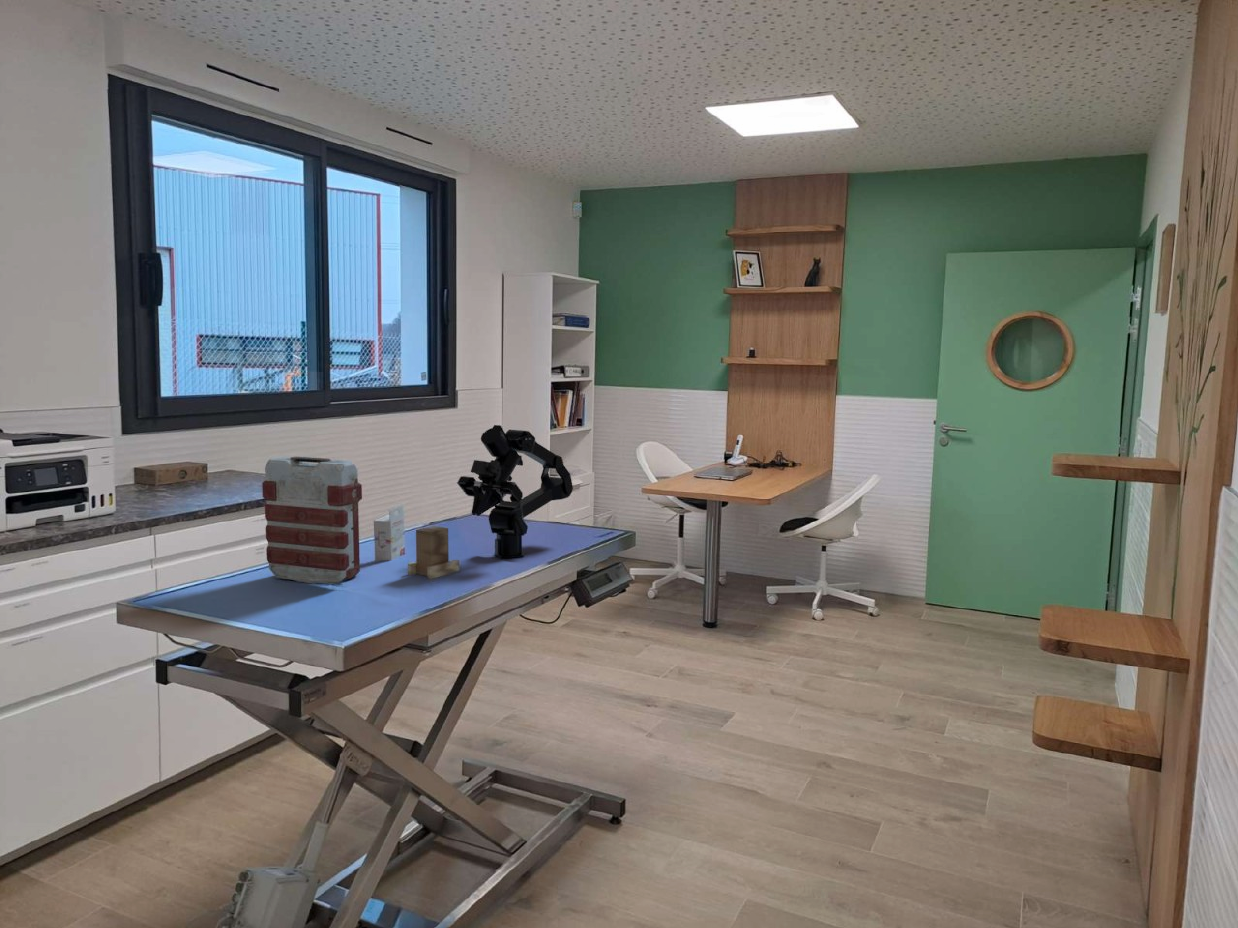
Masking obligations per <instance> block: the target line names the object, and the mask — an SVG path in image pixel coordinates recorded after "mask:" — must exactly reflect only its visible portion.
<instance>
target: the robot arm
mask: <svg viewBox="0 0 1238 928" xmlns="http://www.w3.org/2000/svg"><path fill="white" fill-rule="evenodd" d="M480 441H481V443H482V444H483V446H484V447H485V448H486V450H487V452H489V454H490V455H491V456H492V457H494V458H495V459H494V460H492V459H491V460H490V461H486V460H485V461H484V460H478V459H474V460H473V463H472V466H471V469H470V473H472V474H475V475H478V477H477V478H478V479H479V481H478V480H476V479H475V477H473V476H465V475H464V476H460V477H459V478H458V480H457V482H456V484H457V485H458V486H459V488H461V490H462V492H463V493H465V495H466V496H468V497H473V501H472V508H471V515H473V516H475V515H476V516H481V515H482V514H484V513H485V512H487V511H488V510H491V511H490V513H489V515H488V523H489V527H490V529H491V530H490V531H491V534H496V538H494V555H496V556H497V557H499V558H500V559H509V558H510V559H513V558H522V557H525V554H524V553H523V537H524V536H525V535H527V534H528V533H527V531H528V528H529V526H528V525H527V523H526V521H525V520H524V519H525V518H526V517H527V516H529V515H531V514H533V513H534V512H536V511H537V510H539V509H540V508H543V507H544V506H546V505H547V504H548V503H550V502H551V501H559V500H564V499H568V498H569V497H570V496H571V495H572V493H573V490H574V486H573V480H572V476H571V473H570V472H569V471H568V469H567V468H566V466H565V464H564V461H563V457H562V456H560V455H558V454H556V453H554V452H552V451H551V450H549V449H548V448H546V447H544V446H543V445H542V444H540V443H538V442H537V441H536V437H535V436H534V435H533V434H532V433H531V431H529V430H523V429H522V430H519V429H508V430H507V431H506V432H505V431H504V429H503V426H502V425H500V424H499V425H498V424H494V425H493V427H491V428H489V429H487V430H485V431H484V432H483V433H482V434H481V437H480ZM520 454H523V455H525V456H526V457H529V458H530V459H532V460H534V461H536V462H537V463H539V464H540V465H542V471H541V475H540V481H541V483H540V488H538V489H537V490H535V491H533V492H532V493H528V495H527V496H524V497H523V495H524V494H523V491H522V490H521V488H520V487H519V486H518V484H517V483H516V482H515V481H512V480H513V477H512V476H511V475H512V474H513V472H514V470H515V469H516V466H523V465H524V461H523V457H522V455H520ZM550 469H553V470H555V471H556V473H557V474H558V475H559V477H558V476H557V477H555V476H550V475H549V474H550V473H549V472H550ZM507 495H510V496H509V500H508V501H507V500H504V498H505V496H507Z"/></svg>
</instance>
